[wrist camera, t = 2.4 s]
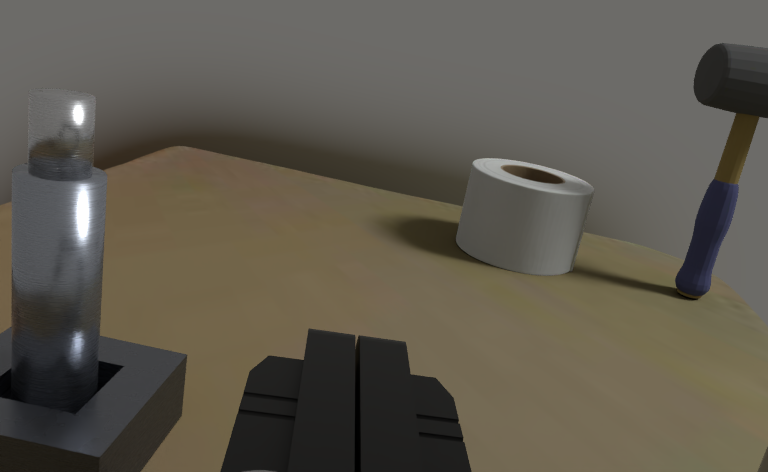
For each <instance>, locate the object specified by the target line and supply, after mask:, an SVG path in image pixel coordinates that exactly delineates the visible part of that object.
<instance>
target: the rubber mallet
mask: <svg viewBox="0 0 768 472" xmlns="http://www.w3.org/2000/svg"><path fill="white" fill-rule="evenodd" d="M694 93H695V96H696V98H697V100H698V101H699V102H701V103H702V104H703V105H706V106H710V107H714V108H719V109H722V110H726V111H730V112H734V113H736V116H735V119H734V122H733V125H732V128H731V131H730V134H729V137H728V140H727V143H726V146H725V149H724V152H723V154H722V157H721V161H720V163H719V166H718V169H717V172H716V175H715V178H714V180H713V181H712V182H711V183H710V185H709V187H708V189H707V192H706V194H705V196H704V198H703V200H702V203H701V205H700V208H699V211H698V214H697V217H696V220H695V226H694V232H693V237H692V240H691V243H690V246H689V249H688V252H687V255H686V258H685V261H684V264H683V266H682V267H681V269H680V271H679V272H678V274H677V276H676V279H675V282H676V287H677V292H679V293H680V294H682V295H684V296H686V297H690V298H696V299H697V298H701V296H702V295H704V294H705V293H706V292H708V291H709V289H710V285H711V274H712V269H713V266H714V263H715V260H716V257H717V254H718V251H719V248H720V246H721V243H722V241H723V239H724V237H725V235H726V233H727V231H728V229H729V226H730V224H731V221H732V218H733V214H734V210H735V206H736V202H737V197H738V181H739V178H740V175H741V172H742V169H743V166H744V163H745V160H746V157H747V154H748V151H749V147H750V144H751V141H752V138H753V135H754V132H755V129H756V126H757V123H758V120H759V117H763V118H768V48H761V47H753V46H745V45H735V44H725V43H722V44H716V45H714V46H713V47H711V48H710V49H709V50H708V51H707V52H706V53H705V54H704V55H703V57H702V59H701V61H700V62H699V65H698V67H697V70H696V74H695V78H694Z"/></svg>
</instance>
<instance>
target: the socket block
mask: <svg viewBox="0 0 768 472" xmlns="http://www.w3.org/2000/svg"><path fill="white" fill-rule="evenodd" d="M11 351H12V327H10V328H9V329H7V330H6V331H4V332H3V333H1V334H0V472H140V471H141V470H142V469H143V467H144V466H145V465H146V463H147V462H148V461H149V459H150V458H151V457H152V455H153V454H154V452H155V451H156V450H157V448H158V447H159V446H160V444H161V443H162V442H163V440H164V439H165V437H166V436H167V435H168V433H169V432H170V431H171V429H172V428H173V427H174V425H175V424H176V423H177V421H178V420H179V418H180V417H181V416H182V405H183V394H184V384H185V373H186V362H187V355H186V354H182V353H177V352H172V351H168V350H163V349H158V348H154V347H149V346H145V345H140V344H135V343H131V342H126V341H121V340H117V339H112V338H107V337H103V336H100V340H99V362H98V383H97V393H96V394H95V395H94V396H93V397H92V398H91V399H90V400H89V401H88V402H87V403H86V404H85V405H84V406H83V407H82V408H81V409H80V410H79V411H78V412H77V413H76V414H72V413H68V412H64V411H59V410H55V409H50V408H46V407H41V406H37V405H32V404H28V403H23V402H19V401H14V400H11Z"/></svg>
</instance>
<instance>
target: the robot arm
mask: <svg viewBox="0 0 768 472" xmlns="http://www.w3.org/2000/svg"><path fill="white" fill-rule="evenodd" d="M458 421H459V419H458V414H457V410H456V406H455V402H454V398H453V397H452V396H451V395H450V394H449V392H448V391H447V390H446V389H445V388H444V387H443V386H442V384H441V383H440V382H439V381H438V380H437V379H436V378H433V377H425V376H418V375H411V374H410V367H409V360H408V353H407V346H406V342H402V341H395V340H388V339H381V338H374V337H367V336H359V337H358V340H357V344H356V349H355V335H351V334H344V333H337V332H330V331H322V330H315V329H309V330H308V337H307V343H306V350H305V356H304V360H299V359H291V358H284V357H277V356H268V357H267V358H265V359H264V360H263V361H262V362H260V363H259V364H258V365H257V366H256V367H254V368H253V369H252V370H251V371H250V372H249V376H248V379H247V383H246V386H245V390H244V394H243V397H242V400H241V403H240V407H239V411H238V414H237V417H236V421H235V424H234V427H233V431H232V434H231V438H230V441H229V445H228V448H227V451H226V455H225V458H224V462H223V465H222V469H221V472H471V468H470V464H469V460H468V456H467V451H466V447H465V443H464V442H463V435H462V431H461V427H460V424H458ZM758 472H768V447H767V449H766V452H765V454H764V457H763V459H762V462H761V464H760V467H759V469H758Z"/></svg>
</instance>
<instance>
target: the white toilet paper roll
mask: <svg viewBox="0 0 768 472" xmlns="http://www.w3.org/2000/svg"><path fill="white" fill-rule="evenodd" d="M593 195H594V188H593V187H592V186H591V185H590V184H588V183H587V182H585V181H583V180H581V179H579V178H577V177H575V176H572V175H569V174H567V173H564V172H561V171H558V170H554V169H551V168H547V167H544V166H540V165H535V164H531V163H526V162H520V161H514V160H507V159H496V158H484V159H478V160H475V161H474V162H473V164H472V169H471V173H470V177H469V182H468V186H467V191H466V195H465V200H464V204H463V208H462V213H461V217H460V221H459V226H458V230H457V234H456V243H457V245H458V246H459V247H460V248H461V249H462V250H463V251H464V252H466V253H467V254H469V255H470V256H472V257H474V258H476V259H478V260H480V261H483V262H485V263H488V264H490V265H493V266H496V267H499V268H502V269H506V270H510V271H514V272H519V273H524V274H531V275H544V276H550V275H560V274H564V273H567V272H569V271H571V272H572V270H573V266H574V263H575V259H576V256H577V252H578V249H579V245H580V241H581V238H582V235H583V231H584V228H585V224H586V220H587V216H588V212H589V209H590V205H591V202H592V198H593Z"/></svg>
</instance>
